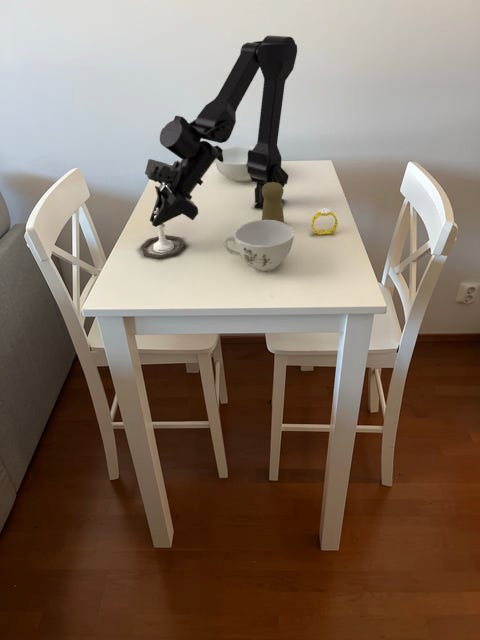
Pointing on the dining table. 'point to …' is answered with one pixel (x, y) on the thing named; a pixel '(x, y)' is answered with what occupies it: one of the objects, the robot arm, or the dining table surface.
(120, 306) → the dining table surface
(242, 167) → the cereal bowl
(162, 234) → the chess piece
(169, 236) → the spot ring
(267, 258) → the teacup
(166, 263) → the dining table surface
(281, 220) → the cork
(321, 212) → the watch
